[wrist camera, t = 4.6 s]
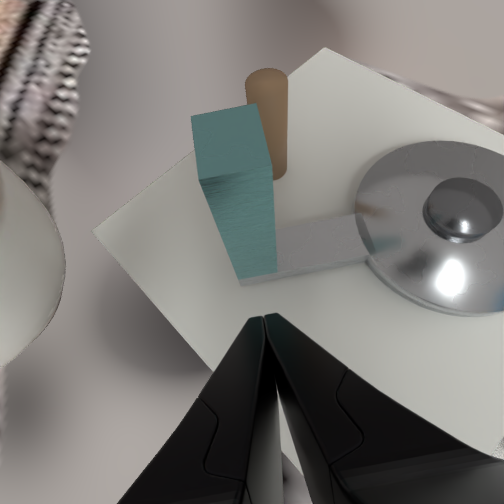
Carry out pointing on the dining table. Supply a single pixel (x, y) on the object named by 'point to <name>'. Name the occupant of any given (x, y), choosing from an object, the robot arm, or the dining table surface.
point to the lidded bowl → (26, 266)
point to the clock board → (331, 280)
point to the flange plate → (365, 217)
